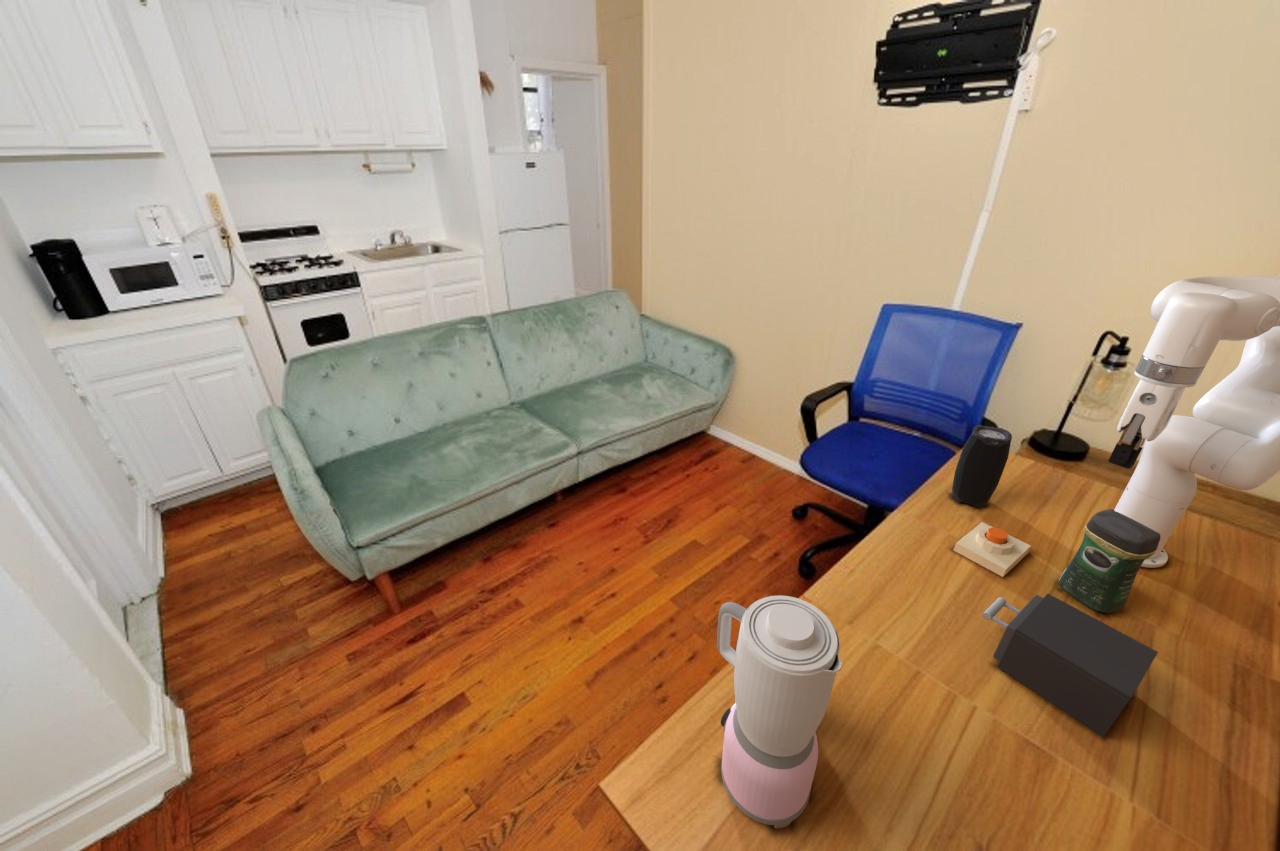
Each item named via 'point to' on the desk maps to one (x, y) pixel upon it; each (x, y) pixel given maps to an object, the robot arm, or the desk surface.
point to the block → (991, 550)
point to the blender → (775, 703)
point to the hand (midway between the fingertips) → (1120, 464)
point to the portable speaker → (981, 465)
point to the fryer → (1076, 662)
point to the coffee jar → (1108, 561)
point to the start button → (996, 535)
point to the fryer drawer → (1010, 627)
